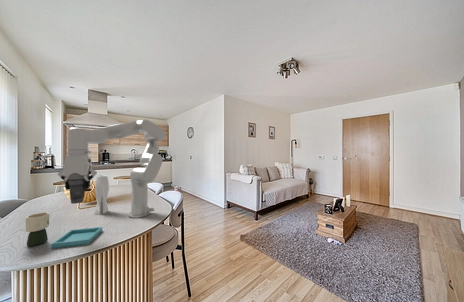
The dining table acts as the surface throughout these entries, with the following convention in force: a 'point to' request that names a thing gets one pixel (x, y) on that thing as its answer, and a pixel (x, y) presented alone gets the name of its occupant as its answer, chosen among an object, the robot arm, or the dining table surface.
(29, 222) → the character mug
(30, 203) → the dining table surface
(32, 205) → the dining table surface
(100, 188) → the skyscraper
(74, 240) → the tray
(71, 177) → the beverage cup
